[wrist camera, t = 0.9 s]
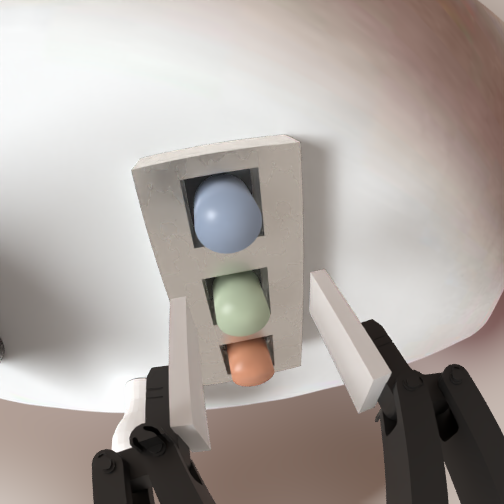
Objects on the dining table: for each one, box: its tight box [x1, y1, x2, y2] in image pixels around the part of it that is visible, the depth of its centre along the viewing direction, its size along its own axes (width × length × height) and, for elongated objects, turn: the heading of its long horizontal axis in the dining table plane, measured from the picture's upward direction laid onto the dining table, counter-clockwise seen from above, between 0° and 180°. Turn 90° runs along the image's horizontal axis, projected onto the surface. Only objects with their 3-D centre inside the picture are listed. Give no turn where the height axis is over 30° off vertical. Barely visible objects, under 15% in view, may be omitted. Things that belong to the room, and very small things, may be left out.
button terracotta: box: [226, 337, 274, 386], centre depth 35 cm, size 5×5×5 cm
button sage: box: [212, 270, 270, 336], centre depth 29 cm, size 5×5×5 cm
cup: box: [112, 378, 146, 453], centre depth 37 cm, size 11×11×15 cm
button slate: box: [194, 174, 262, 254], centre depth 24 cm, size 5×5×5 cm
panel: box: [131, 134, 303, 386], centre depth 32 cm, size 14×30×4 cm, turn 6°
